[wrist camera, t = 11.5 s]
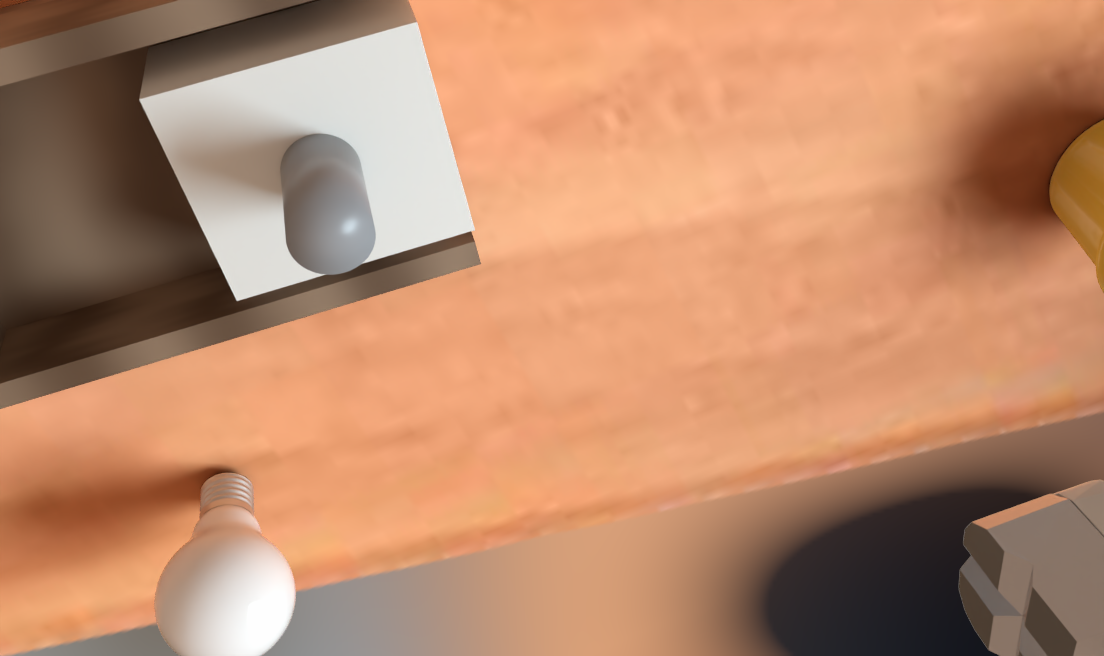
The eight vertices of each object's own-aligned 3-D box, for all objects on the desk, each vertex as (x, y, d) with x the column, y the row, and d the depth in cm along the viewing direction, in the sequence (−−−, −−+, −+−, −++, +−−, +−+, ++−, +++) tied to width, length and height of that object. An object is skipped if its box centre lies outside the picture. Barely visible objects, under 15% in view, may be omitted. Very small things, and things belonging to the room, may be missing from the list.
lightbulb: (139, 468, 52) (120, 644, 43) (253, 420, 52) (256, 586, 43) (203, 540, 56) (198, 714, 47) (309, 495, 56) (322, 661, 47)
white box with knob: (399, -22, 40) (439, 76, 32) (454, 174, 45) (500, 297, 37) (148, 47, 39) (127, 164, 31) (236, 238, 44) (237, 378, 37)
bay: (375, -93, 39) (405, -23, 32) (461, 210, 47) (499, 316, 41) (-203, 63, 37) (-302, 173, 30) (-3, 347, 46) (-45, 483, 39)
